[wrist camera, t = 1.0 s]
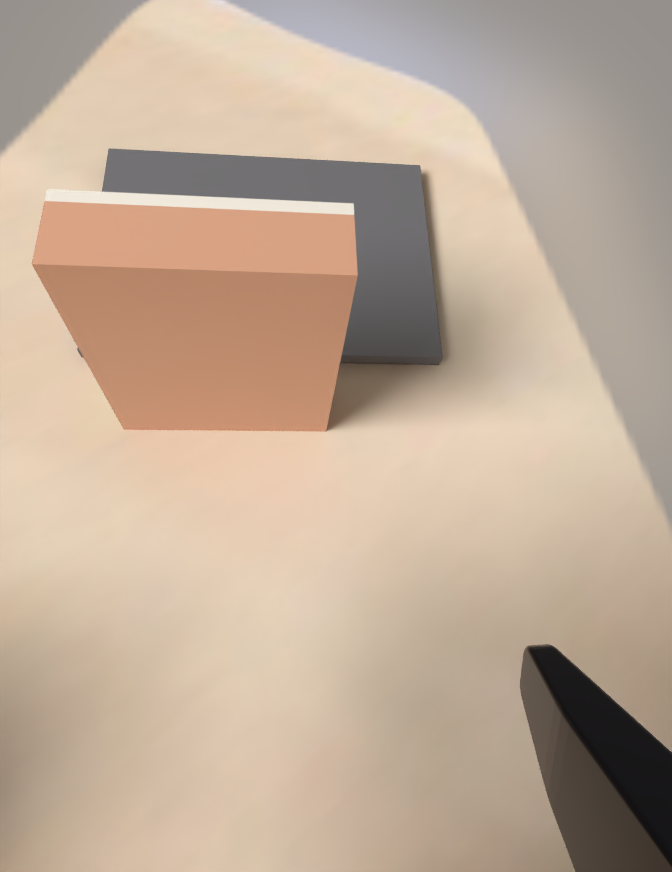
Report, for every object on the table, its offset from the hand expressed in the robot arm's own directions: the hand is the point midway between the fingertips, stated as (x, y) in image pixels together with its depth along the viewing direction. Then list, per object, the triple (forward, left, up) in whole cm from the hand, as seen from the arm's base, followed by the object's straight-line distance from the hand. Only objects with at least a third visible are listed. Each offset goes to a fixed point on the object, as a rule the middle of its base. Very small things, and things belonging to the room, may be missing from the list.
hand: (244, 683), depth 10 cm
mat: (+18, 0, -12) cm, 22 cm away
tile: (+11, +1, -12) cm, 16 cm away
